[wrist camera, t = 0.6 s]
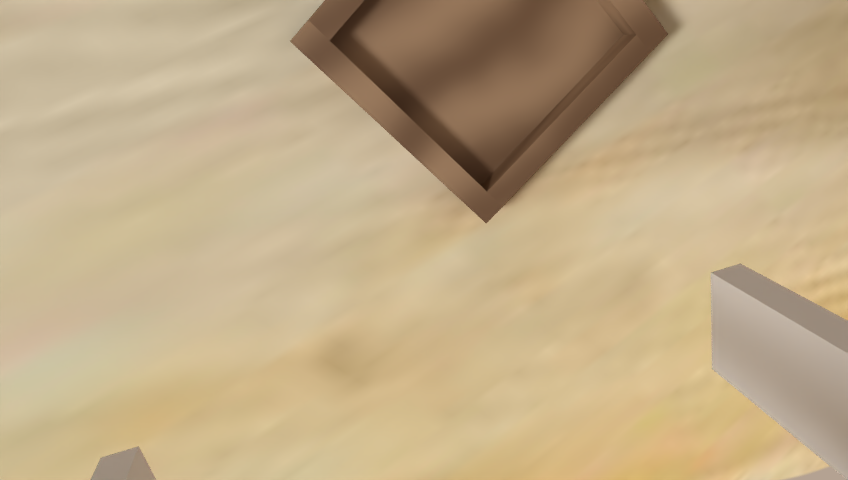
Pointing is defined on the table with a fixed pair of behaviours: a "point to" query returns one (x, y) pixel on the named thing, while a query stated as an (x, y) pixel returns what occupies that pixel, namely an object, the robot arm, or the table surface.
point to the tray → (480, 77)
